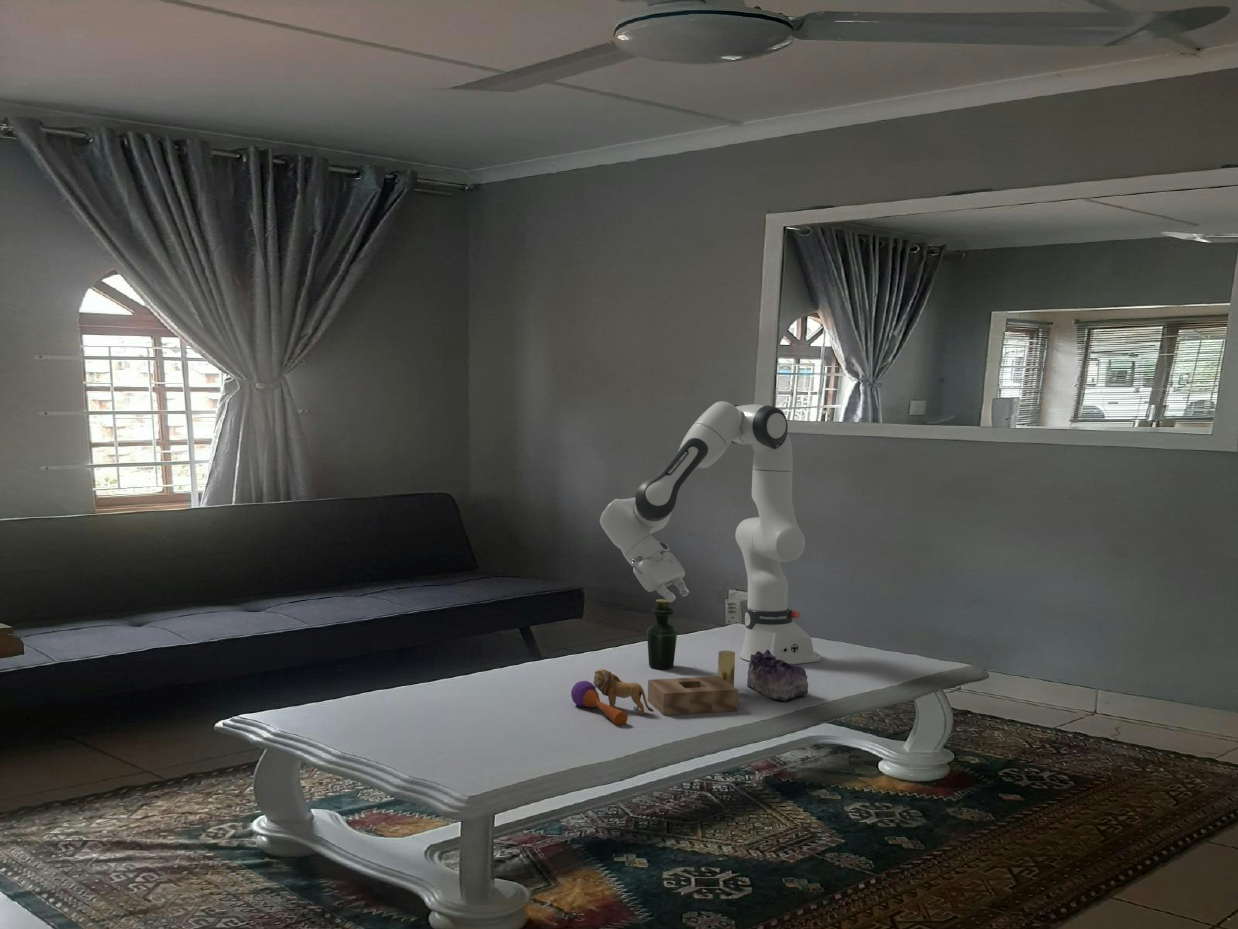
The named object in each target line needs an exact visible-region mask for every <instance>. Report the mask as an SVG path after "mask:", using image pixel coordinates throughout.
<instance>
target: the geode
mask: <svg viewBox="0 0 1238 929" xmlns="http://www.w3.org/2000/svg"><path fill="white" fill-rule="evenodd" d="M746 686H747V687H749V688H752V689H753V690H755V691H756V692H758V693H760V694H761V695H762V696H765V697H768V698H770V699H773V700H779V701H781V702H787V701H788V700H791V699H794V698H795V697H800V696H805V695H807V694H808V693H809V690H808V689H809V682H808V675H807V673H806V669H805V668H804V667H802V666H800V665H797V666H796V665H795V664H791V663H790V664H788V663H786V662H785V661H782V660H776V657H775V656H773V655H772V654H771V652H770V651H769V650H766V652H765V653H764V654H762V653H761V652H759V651H757V652H756V654H755V655H753V654H751V660H750V661H749V663H748V669H747V680H746Z"/></svg>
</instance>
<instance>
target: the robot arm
mask: <svg viewBox="0 0 1238 929" xmlns="http://www.w3.org/2000/svg"><path fill="white" fill-rule="evenodd" d="M788 425H789V424H788V419H787V417H786V414H785V412H784V411H783V410H782V409H780V408H778V407H777V406H774V405H763V404H758V403H756V404H754V403H751V404H742V405H739V404H735V405H734V404H732V403H730V402H728V401H725V400H723V401H722V400H720V401H717V402H714V403H713V404H712V405H711V406H709V407H708V408H707V409H706V410H705V411H704V412H703V413H702V414H701V415H700V416H699V417H698V418H697V419H696V420H695V422H693V424H692V426H691V427H690V428H689V430H688V431H687V432H686V434H685V435H684V437H683V440H682V441H681V444H680V445H679V448H678V451H677V452H676V454H675V455H674V456H673V457H672V459H671V460H670V461H669V462H668V464H666V465H665V466H664V468H663V469H662V470H661V472H659V473H658V474H657V475H655V476H653V477H651V478H649V479H648V480H646V481H644V482H643V483H642V484H640V486H639V487H638V488H637V490H636V493H635V496H634V497H631V498H621V499H620V498H615V499H613V500H611V501H610V502H609V503H607V505H606V506H605V507H604V508H603V509H602V511H601V513H600V516H599V524H600V526H601V528H602V530H603V531H604V532H605V534H606V535H607V537H608V538H609V540H610V541H611V542H612V543H613V545H615V546H616V547H617V548H618V549H620V551H621V552H622V555H623V557H624V558H625V559H626V561H627V562H628V564H629V565H630V566H631V567H632V568H633V570H632V571H633V574H634V575H635V577H636V578H637V580H638V581H639V583H640V584H641V586H642V587H643V588H644V590H646V591H647V592H649V593H652V592H654V591H655V592H657V593H658V594H659V595H660V596H662V597H663V598H664V599H666V600H667V601H668V602H670V603H673V602H674V601H675V600H676V599H677V596H676V595H675V594H674V593H673V592H671V591H670V589H668V588H667V587H668V586H670V585H674V586H675V587H676V588H677V590H679V592H678V593H679V594H680V595H681V597H683V598H684V597H687V596H688V595H689V594H690V590H689V588H687V586H686V584H685V581H684V579H683V578H684V577H685V576H686V572H685V568H684V566H682V564H681V563H680V562H679V560H678V559H677V558H676V556H675V555H674V554H673V553H672V552H671V551H670V547H669V545H668V544H666V543H665V542H662V541H659V540H657V539H655V538H654V536H653V535H652V534H655V533H657V532H658V531H660V530H662V529H664V527H665V528H666V526H667V525H668V524H669V521H670V519H671V515H672V513H673V510H674V509H675V506H676V502H677V499H678V498H677V497H678V495H679V491H680V489H681V488H682V486H684V485H685V482H687V480H688V479H689V478H690V477H691V476H692V474H693V473H694V472H695V471H696V470H697V469H707V468H711V467H712V466H713V465H714V464H715V463H716V462H717V461H718V460H719V459H720V458H721V457H722V456H723V454H724V453H725V452H726V450H727V449H728V448H729V447H730V445H731V443H732V444H740V445H744V446H751V447H752V450H753V454H754V455H753V458H752V459H753V461H752V474H751V475H752V478H751V499H752V501H753V502H754V504H755V506H756V509H757V512H758V517H757V516H755V517H749V518H746V519H743V520H742V521H741V522H739V524H738V526H736V529H735V541H736V544H737V545H738V547H739V549H740V551H741V553H742V557H743V562H744V566H745V570H746V577H747V603H746V604H747V606H746V607H745V615H744V625H745V634H744V638H743V643H742V648H741V652H740V653H739V657H740V658H741V659H743V660H745V661H748V662H750V660H751V654H753V655H755V654H756V652H757V651H759V652H761V653H762V654H764V653H765V652H766V650H769V651H770V652H771V654H772V655H773V656H775V657H776V660H782V661H785V662H786V663H788V664H790V663H791V664H793V665H799V664H806V663H807V664H808V663H818V662H821V661H822V656H821V655H820V654H819V653H818V652H816V651H814V645H813V641H812V638H811V636H810V635H809V634H808V633H807V632H806V631H805V630H804V629H803V628H802V627H800V626H799V625H797V624H796V623H795V622H793V619H795V620H798V619H799V618H800V615H801V614H800V613H799V611H796V610H791V609H789V608H788V595H789V594H788V593H789V590H788V588H789V587H788V586H789V582H788V579H787V577H786V575H785V573H784V571H783V568H782V565H781V563H786V562H794V561H796V560H798V559H799V558H800V557H801V556H802V554H804V550H805V548H806V538H805V535H804V533H803V531H801V529H800V527H799V525H798V522H797V519H796V515H795V514H796V513H795V510H794V504H793V476H794V475H793V473H794V471H793V469H794V468H793V467H794V462H793V461H794V458H793V446H792V440H791V438H790V436H789V435H788V428H789V427H788Z"/></svg>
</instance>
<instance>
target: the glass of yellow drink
mask: <svg viewBox="0 0 1238 929" xmlns="http://www.w3.org/2000/svg"><path fill="white" fill-rule="evenodd" d="M735 661H736V652H735V651H732V650H719V651H718V660H717V663H718V664H717V665H718V666H717V676H720V677H721V678H722V679H724V680H725V681H727V682H728V683H729V684H731V685H732V686H734V687H735V664H736V663H735Z"/></svg>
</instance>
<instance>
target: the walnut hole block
mask: <svg viewBox="0 0 1238 929" xmlns="http://www.w3.org/2000/svg"><path fill="white" fill-rule="evenodd" d="M738 691H739V690H738V688H736V687H735V685H734V686H732V685H731V684H729V683H728V682H727V681H725V680H724V679H722V678H721V677H720V676H718V675H716V676H700V677H697V676H696V677H679V678H676V677H675V678H658V679H657V678H656V679H648V680H647V701H648V703H650V704H651V705H652V706H653V707H654V708H655V710H657V711H659V713H660V714H662V715H663V716H669V715H672V716H673V715H687V714H701V713H702V714H703V713H720V712H736V711H738Z"/></svg>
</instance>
